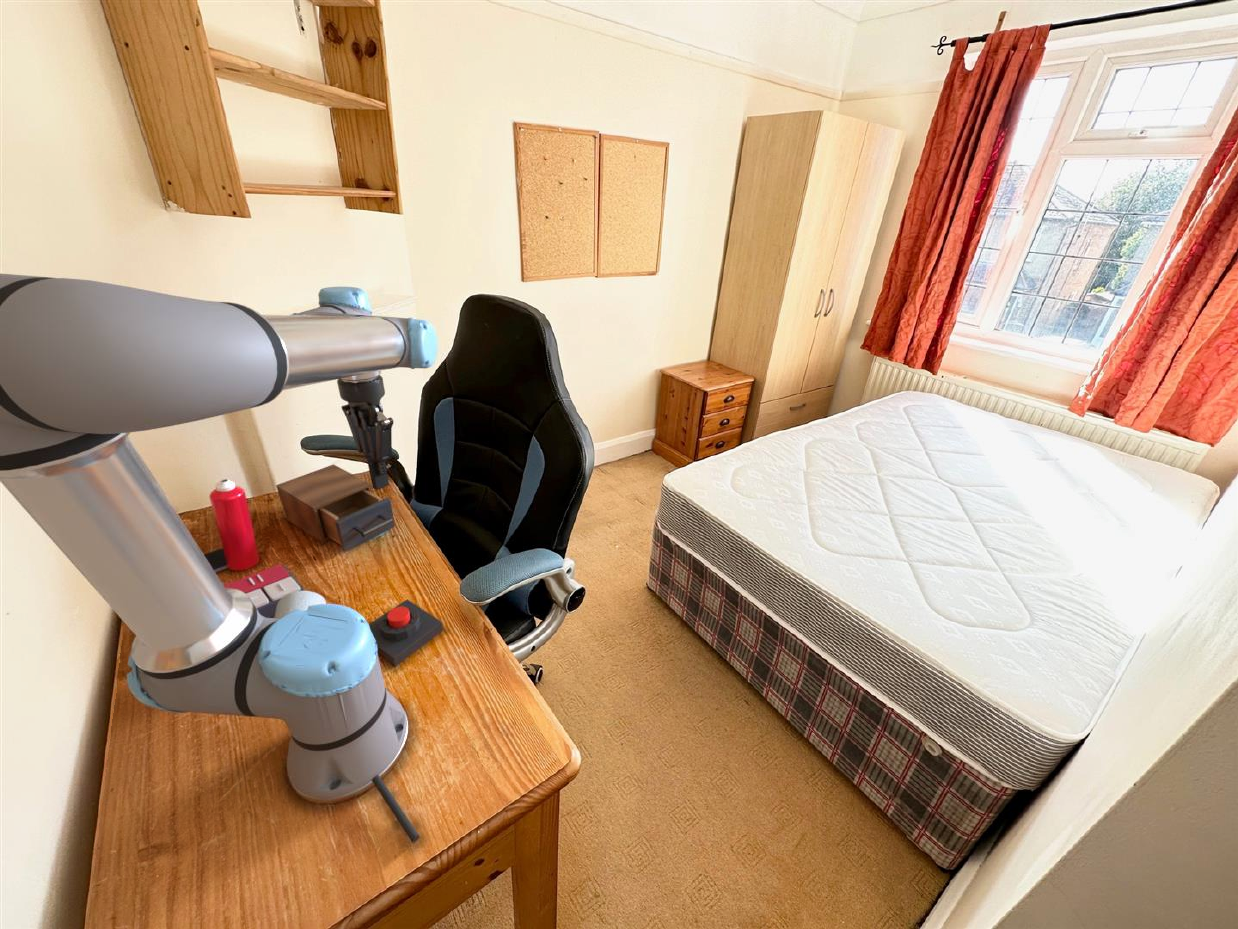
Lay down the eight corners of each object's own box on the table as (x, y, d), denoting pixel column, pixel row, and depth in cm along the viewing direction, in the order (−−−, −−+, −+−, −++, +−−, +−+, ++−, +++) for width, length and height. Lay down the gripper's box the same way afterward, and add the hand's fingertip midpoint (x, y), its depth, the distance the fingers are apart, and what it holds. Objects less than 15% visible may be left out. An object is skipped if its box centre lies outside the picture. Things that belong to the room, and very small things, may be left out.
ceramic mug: (275, 660, 81) (264, 627, 78) (282, 626, 88) (272, 594, 84) (346, 643, 85) (338, 611, 82) (348, 611, 92) (340, 581, 88)
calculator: (304, 586, 92) (205, 627, 81) (308, 604, 94) (212, 646, 83) (282, 560, 98) (188, 595, 87) (286, 577, 100) (194, 613, 89)
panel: (443, 630, 89) (440, 614, 87) (395, 667, 82) (391, 650, 80) (408, 607, 94) (405, 592, 92) (360, 640, 86) (356, 624, 84)
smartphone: (237, 561, 101) (141, 597, 90) (238, 565, 101) (143, 601, 90) (225, 546, 105) (132, 579, 94) (226, 551, 105) (134, 583, 94)
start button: (414, 619, 87) (413, 612, 86) (397, 631, 84) (395, 624, 83) (402, 610, 88) (400, 603, 87) (384, 622, 85) (382, 615, 85)
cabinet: (377, 516, 120) (370, 483, 115) (322, 543, 109) (312, 507, 105) (341, 496, 126) (333, 464, 122) (286, 519, 116) (275, 485, 112)
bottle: (221, 563, 100) (199, 481, 91) (249, 551, 105) (231, 471, 96) (237, 574, 98) (216, 491, 89) (265, 560, 103) (248, 480, 94)
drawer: (406, 533, 113) (401, 505, 109) (356, 560, 104) (349, 530, 100) (359, 506, 121) (353, 479, 118) (309, 528, 112) (301, 500, 108)
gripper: (400, 379, 88) (417, 489, 99) (357, 364, 94) (378, 470, 105) (361, 389, 82) (384, 505, 93) (319, 373, 88) (345, 483, 99)
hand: (381, 486), depth 99 cm, fingers closed
